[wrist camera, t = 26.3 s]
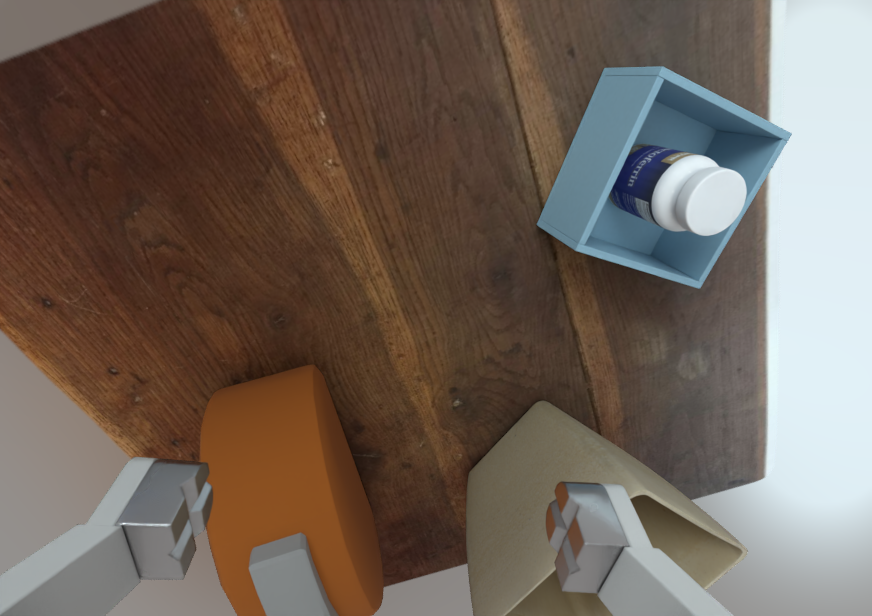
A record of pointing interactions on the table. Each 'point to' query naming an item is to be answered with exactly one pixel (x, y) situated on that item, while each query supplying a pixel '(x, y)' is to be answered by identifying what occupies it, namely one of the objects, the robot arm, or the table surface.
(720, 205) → the pill bottle
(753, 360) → the table surface
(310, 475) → the alarm clock
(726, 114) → the open box
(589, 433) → the flower pot
